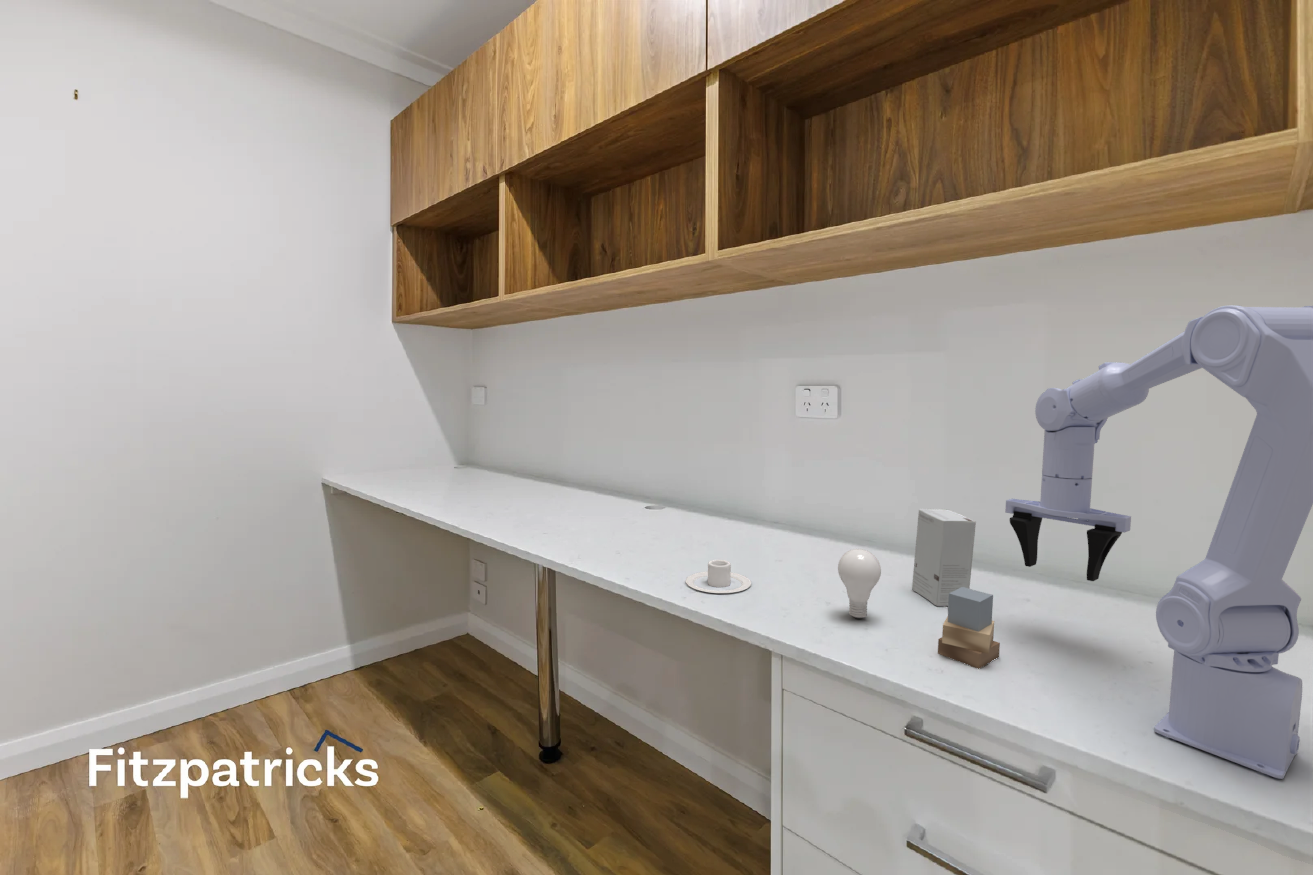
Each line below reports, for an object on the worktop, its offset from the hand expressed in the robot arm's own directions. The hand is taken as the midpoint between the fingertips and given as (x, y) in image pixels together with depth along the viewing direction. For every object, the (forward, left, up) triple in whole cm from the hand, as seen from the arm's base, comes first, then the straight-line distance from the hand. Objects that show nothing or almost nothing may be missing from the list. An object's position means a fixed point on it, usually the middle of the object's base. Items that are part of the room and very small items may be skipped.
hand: (1060, 572), depth 83 cm
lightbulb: (+22, +15, -11) cm, 29 cm away
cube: (+5, +14, -6) cm, 16 cm away
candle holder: (+47, +22, -11) cm, 53 cm away
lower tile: (+5, +14, -11) cm, 18 cm away
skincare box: (+19, -4, -11) cm, 22 cm away
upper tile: (+6, +14, -8) cm, 17 cm away
